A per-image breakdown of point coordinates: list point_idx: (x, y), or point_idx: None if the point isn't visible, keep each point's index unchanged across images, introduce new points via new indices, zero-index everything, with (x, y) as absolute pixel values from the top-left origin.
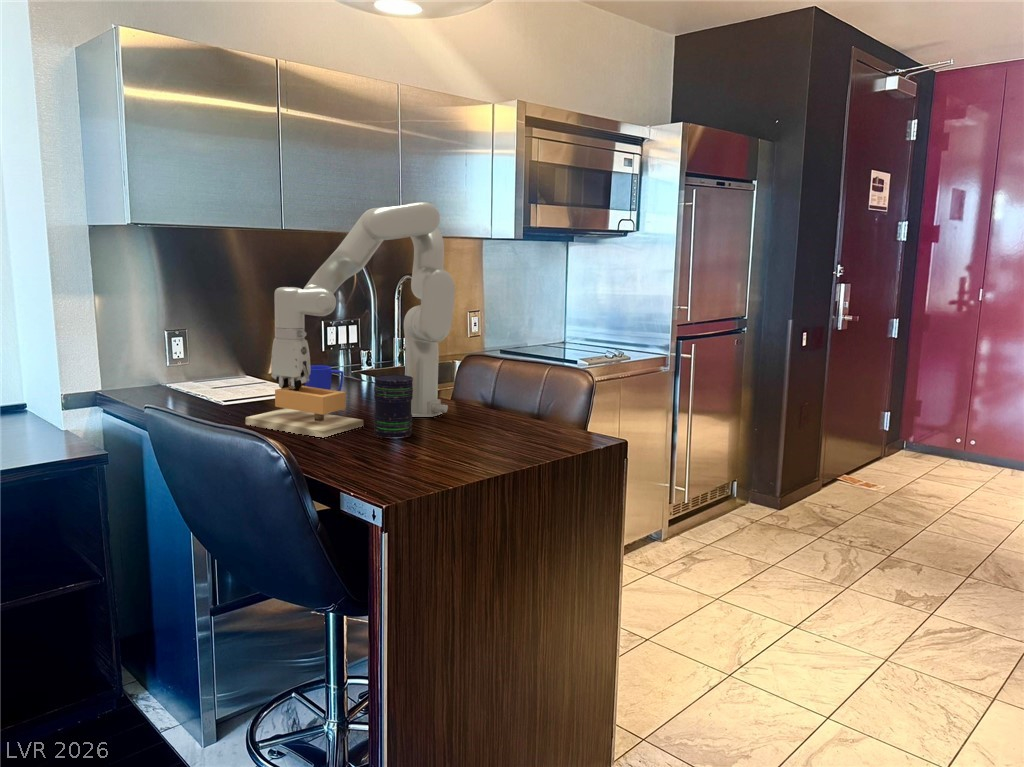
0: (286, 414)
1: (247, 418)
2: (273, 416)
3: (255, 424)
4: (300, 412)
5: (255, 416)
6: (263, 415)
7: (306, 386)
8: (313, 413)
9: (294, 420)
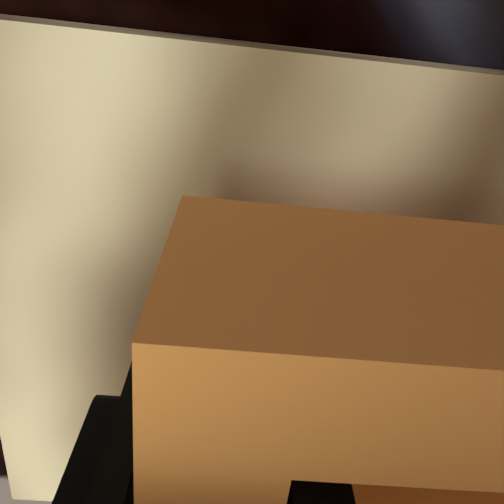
0: None
1: (34, 494)
2: None
3: None
4: (234, 177)
5: (44, 461)
6: (60, 416)
7: (388, 377)
8: (383, 145)
9: None
